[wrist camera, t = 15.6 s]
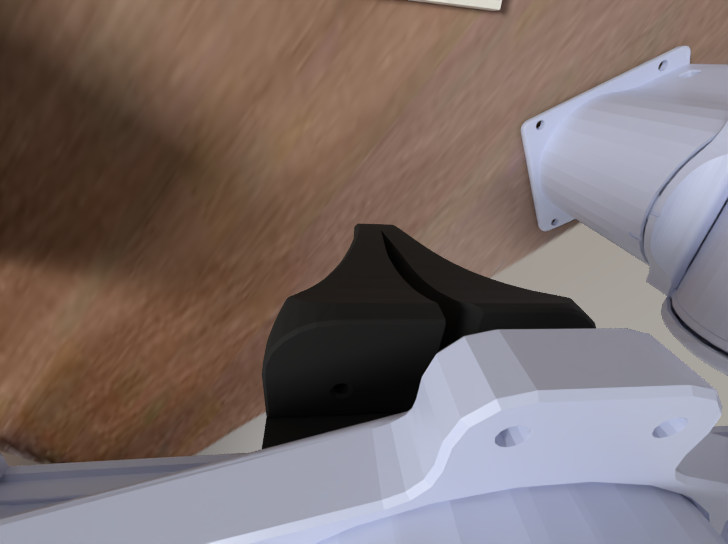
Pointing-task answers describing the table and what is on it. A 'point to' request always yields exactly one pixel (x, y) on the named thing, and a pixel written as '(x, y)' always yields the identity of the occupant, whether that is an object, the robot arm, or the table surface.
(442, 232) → the table surface
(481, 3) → the board
